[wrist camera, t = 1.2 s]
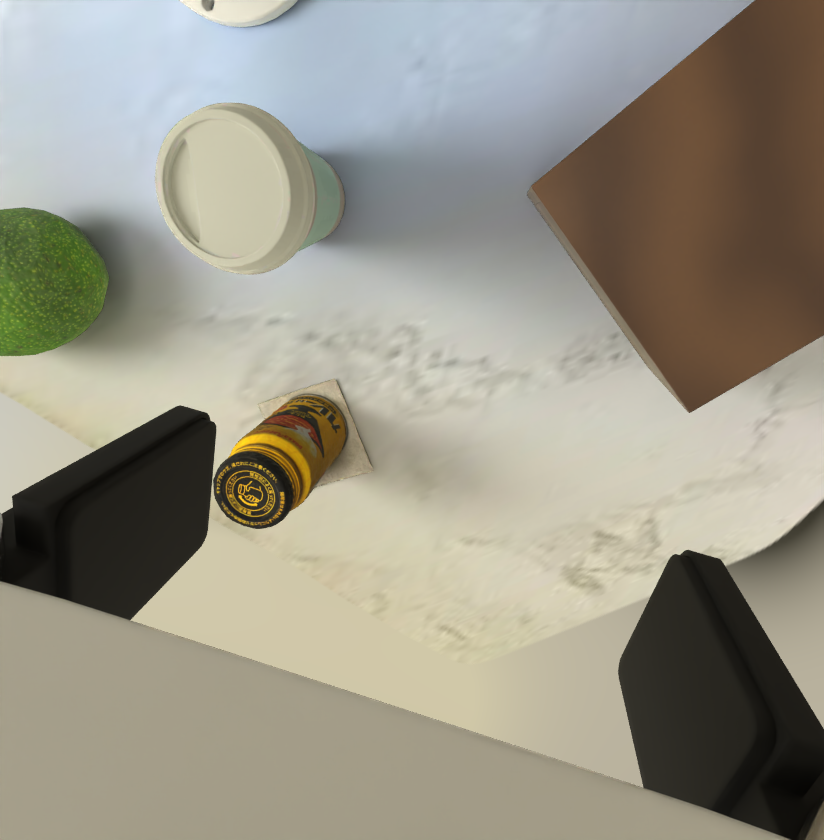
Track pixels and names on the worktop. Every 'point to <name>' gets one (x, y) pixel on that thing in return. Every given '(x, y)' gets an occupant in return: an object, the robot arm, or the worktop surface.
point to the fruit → (46, 282)
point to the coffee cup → (244, 189)
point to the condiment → (290, 456)
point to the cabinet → (709, 205)
